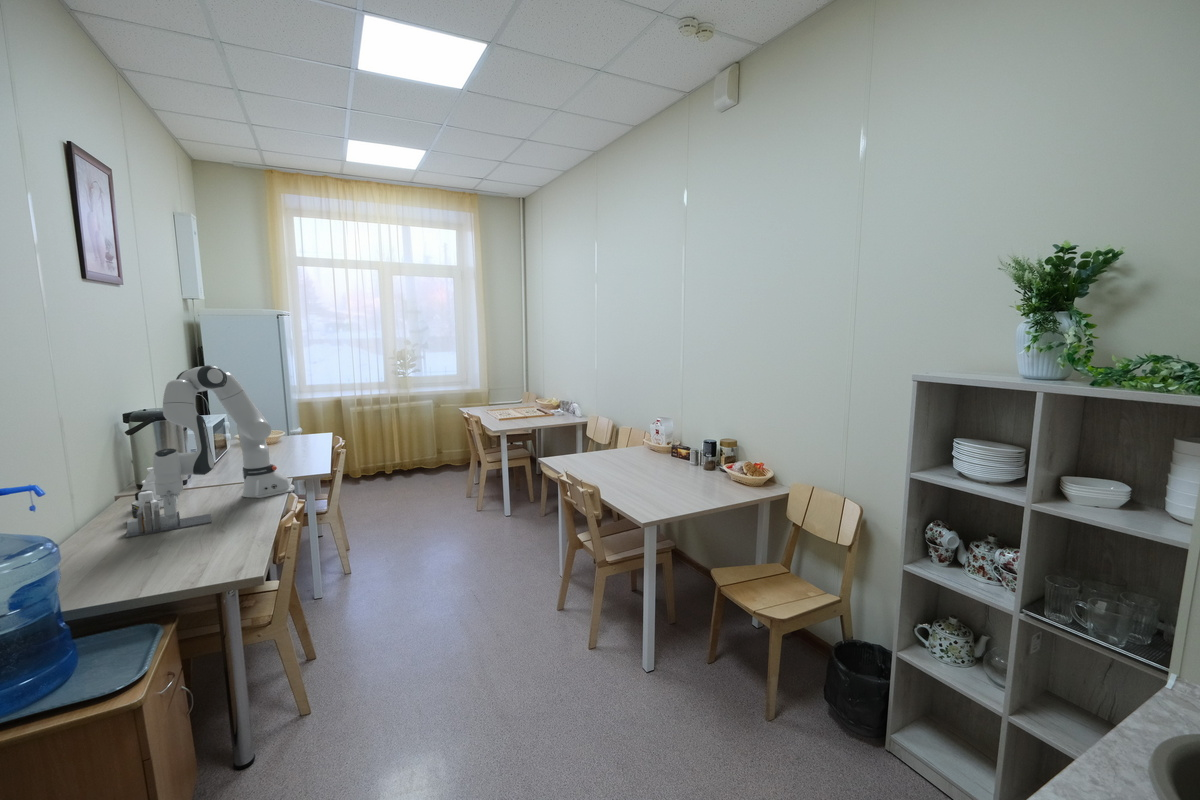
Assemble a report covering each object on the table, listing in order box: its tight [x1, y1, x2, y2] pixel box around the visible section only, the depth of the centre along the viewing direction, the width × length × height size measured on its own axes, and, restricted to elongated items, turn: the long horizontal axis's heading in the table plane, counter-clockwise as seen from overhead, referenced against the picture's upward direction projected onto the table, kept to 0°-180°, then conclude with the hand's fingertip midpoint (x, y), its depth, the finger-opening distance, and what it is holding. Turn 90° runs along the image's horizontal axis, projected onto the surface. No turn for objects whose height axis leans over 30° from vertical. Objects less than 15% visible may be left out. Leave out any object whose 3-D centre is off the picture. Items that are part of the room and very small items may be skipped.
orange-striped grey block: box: [126, 511, 181, 533], centre depth 211 cm, size 16×4×4 cm, turn 128°
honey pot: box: [140, 466, 164, 508], centre depth 239 cm, size 13×13×18 cm
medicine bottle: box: [131, 490, 161, 519], centre depth 222 cm, size 7×7×12 cm
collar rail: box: [125, 500, 213, 539], centre depth 213 cm, size 27×12×11 cm, turn 128°
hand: (172, 520), depth 214 cm, fingers closed on orange-striped grey block, 4 cm apart
